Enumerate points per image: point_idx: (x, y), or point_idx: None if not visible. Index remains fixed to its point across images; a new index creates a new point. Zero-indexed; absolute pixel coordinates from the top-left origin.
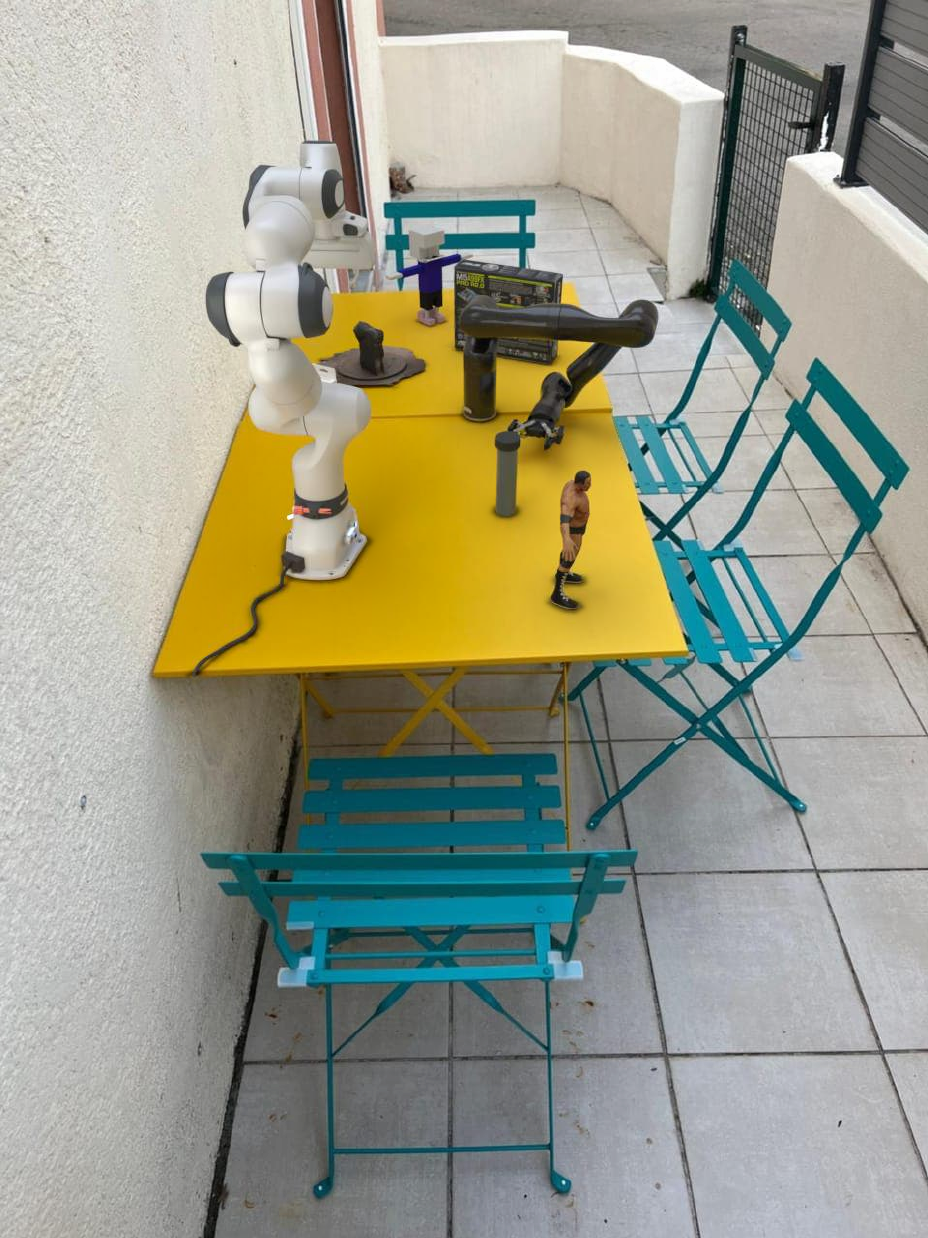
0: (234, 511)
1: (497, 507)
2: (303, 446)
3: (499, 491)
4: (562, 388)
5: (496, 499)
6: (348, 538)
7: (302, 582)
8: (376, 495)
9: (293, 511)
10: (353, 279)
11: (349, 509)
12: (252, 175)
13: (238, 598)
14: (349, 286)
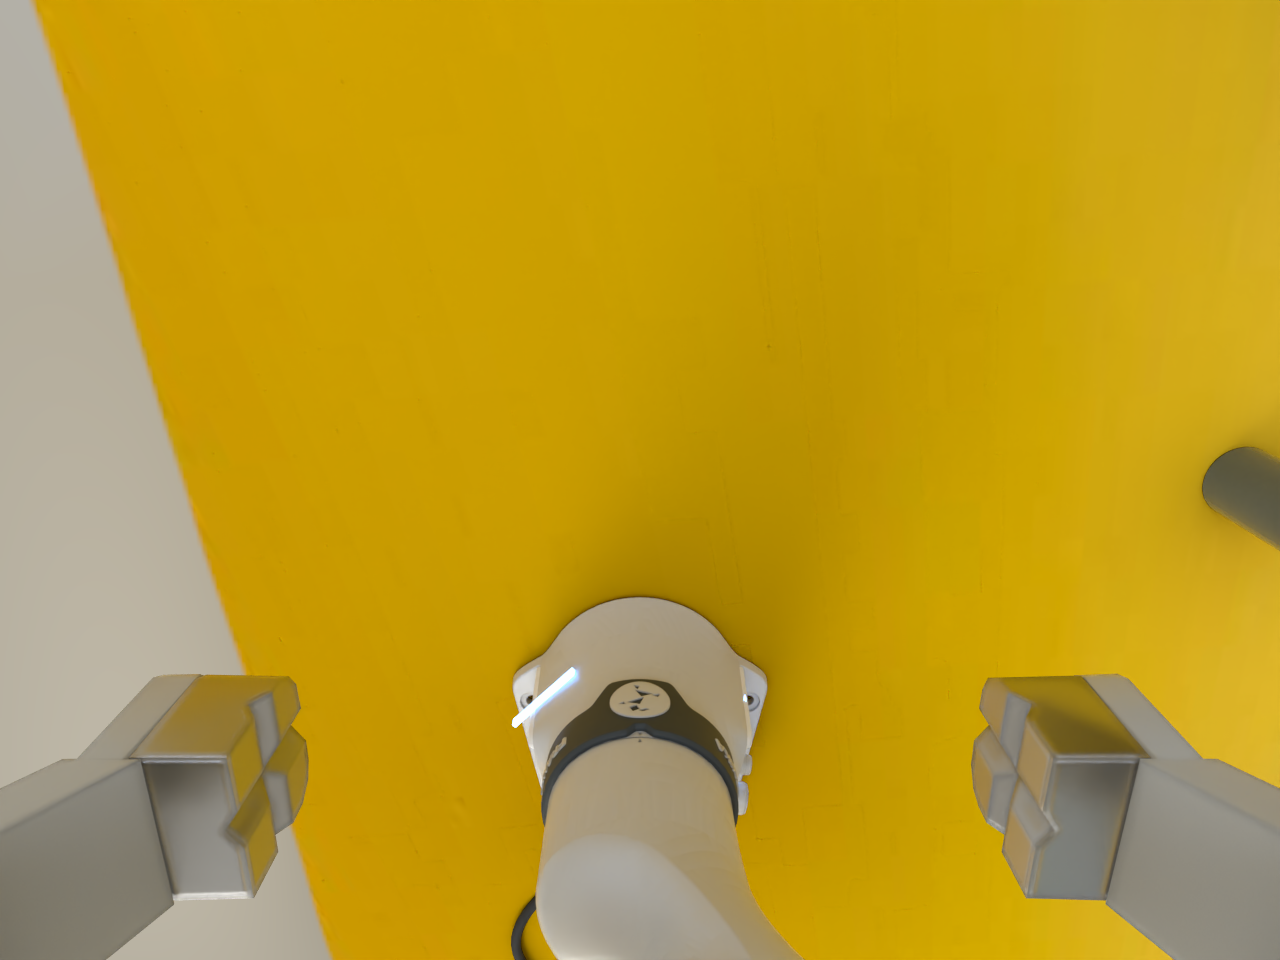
0: (282, 554)
1: (1222, 512)
2: (578, 924)
3: (1274, 546)
4: None
5: (1237, 515)
6: (738, 814)
7: None
8: (764, 418)
9: (541, 774)
10: (1155, 942)
11: (736, 766)
12: None
13: (465, 914)
14: (988, 819)
